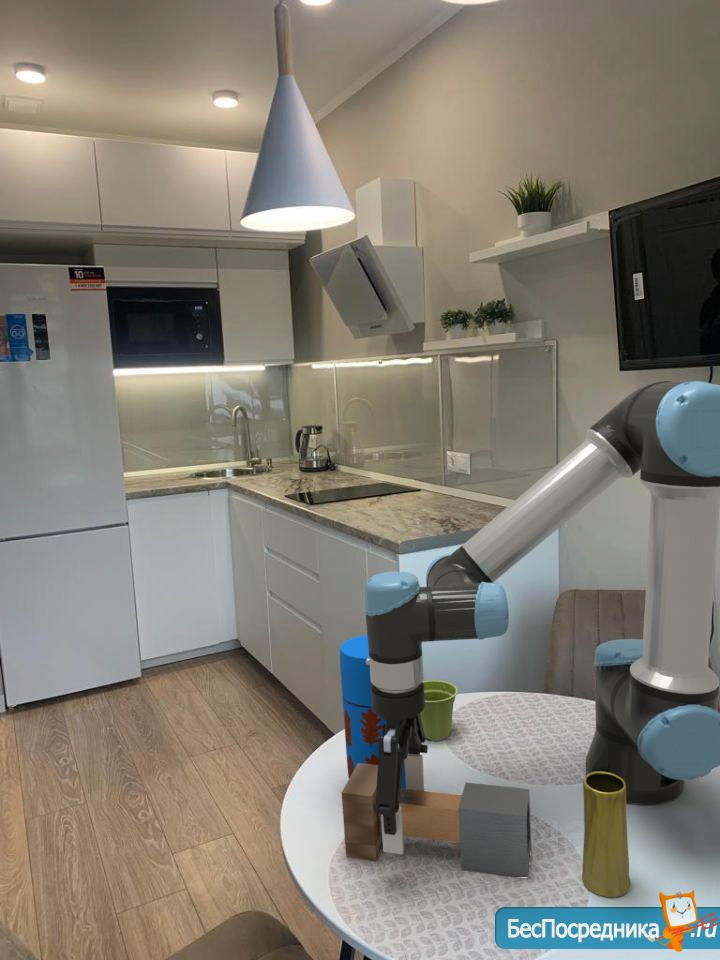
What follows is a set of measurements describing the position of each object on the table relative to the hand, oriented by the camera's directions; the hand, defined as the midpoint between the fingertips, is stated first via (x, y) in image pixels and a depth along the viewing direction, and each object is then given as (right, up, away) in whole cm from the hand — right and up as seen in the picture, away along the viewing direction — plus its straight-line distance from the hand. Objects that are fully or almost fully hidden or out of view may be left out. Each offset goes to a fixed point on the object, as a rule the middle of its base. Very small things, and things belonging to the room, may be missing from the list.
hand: (405, 821), depth 105 cm
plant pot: (+8, +1, +33) cm, 34 cm away
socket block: (-5, -4, +2) cm, 7 cm away
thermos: (-3, -2, +16) cm, 16 cm away
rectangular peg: (+2, -1, -1) cm, 3 cm away
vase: (+26, -4, -9) cm, 28 cm away
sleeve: (+13, -4, -3) cm, 14 cm away
